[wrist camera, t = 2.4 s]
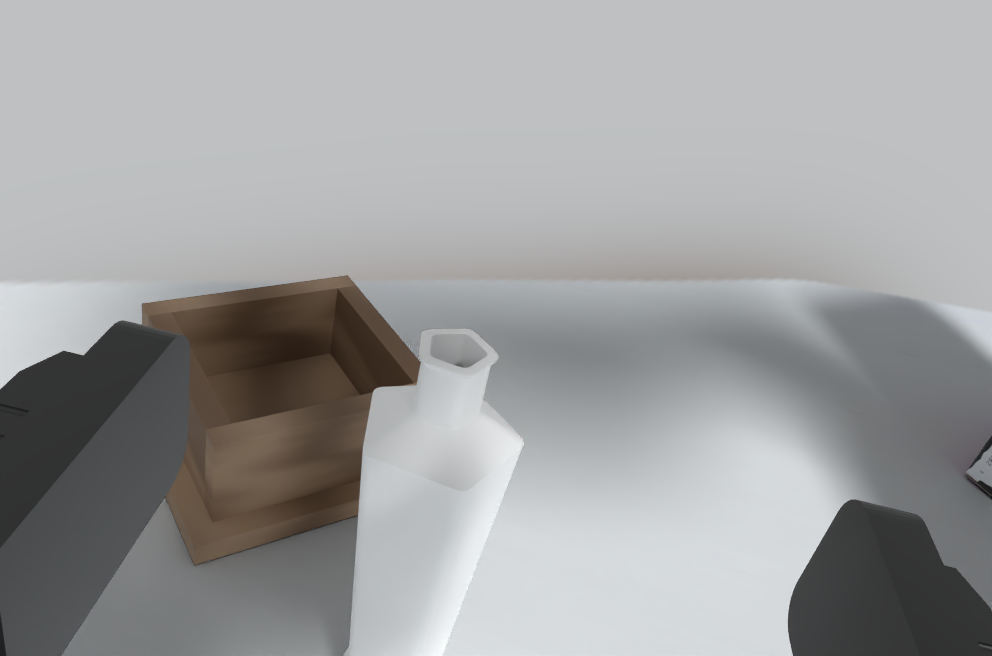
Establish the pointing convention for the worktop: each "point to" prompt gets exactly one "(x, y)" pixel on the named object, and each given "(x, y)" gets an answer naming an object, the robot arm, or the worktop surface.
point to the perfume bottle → (427, 497)
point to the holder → (276, 408)
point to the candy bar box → (982, 468)
